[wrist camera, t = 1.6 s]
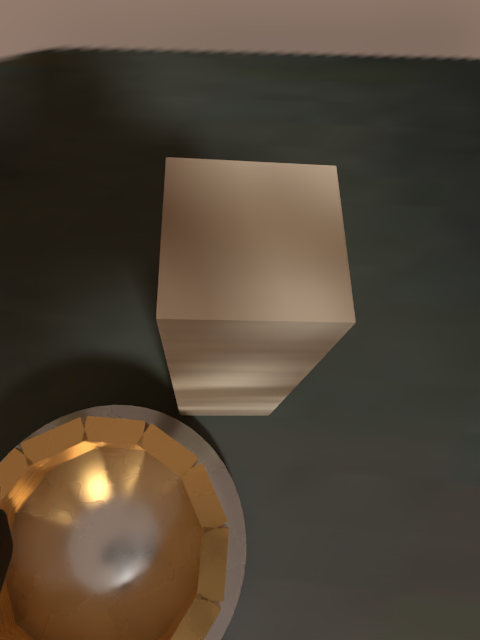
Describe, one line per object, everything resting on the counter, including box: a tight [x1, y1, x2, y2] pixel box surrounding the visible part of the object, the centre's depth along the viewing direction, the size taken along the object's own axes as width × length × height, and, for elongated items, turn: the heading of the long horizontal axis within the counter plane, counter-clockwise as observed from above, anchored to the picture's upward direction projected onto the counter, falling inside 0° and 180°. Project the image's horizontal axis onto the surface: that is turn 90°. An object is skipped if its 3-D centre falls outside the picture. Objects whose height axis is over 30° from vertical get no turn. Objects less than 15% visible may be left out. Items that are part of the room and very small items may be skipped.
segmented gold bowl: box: [0, 405, 246, 640], centre depth 17 cm, size 12×12×4 cm
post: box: [156, 157, 356, 415], centre depth 16 cm, size 4×4×13 cm
